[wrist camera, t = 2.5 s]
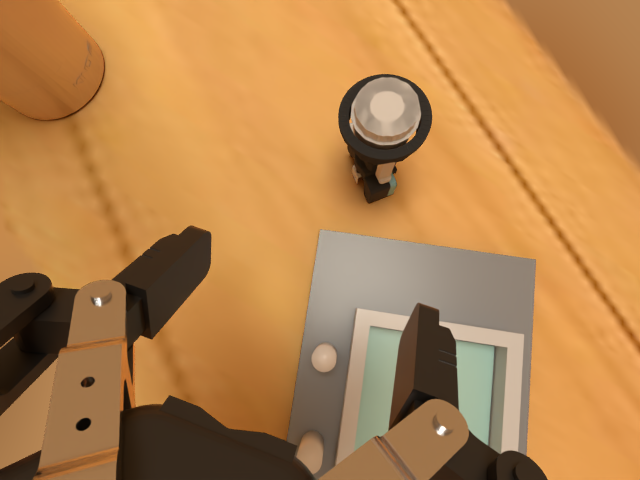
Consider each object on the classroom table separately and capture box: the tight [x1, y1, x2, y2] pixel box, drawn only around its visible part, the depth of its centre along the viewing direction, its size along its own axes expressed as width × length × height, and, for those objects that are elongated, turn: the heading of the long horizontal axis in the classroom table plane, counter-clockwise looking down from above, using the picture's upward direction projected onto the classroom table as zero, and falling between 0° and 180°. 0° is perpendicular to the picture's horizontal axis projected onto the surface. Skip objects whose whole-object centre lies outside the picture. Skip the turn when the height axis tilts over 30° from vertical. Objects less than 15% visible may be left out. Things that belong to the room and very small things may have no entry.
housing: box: [287, 229, 536, 480], centre depth 25 cm, size 16×20×4 cm
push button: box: [338, 74, 432, 203], centre depth 25 cm, size 7×5×10 cm
